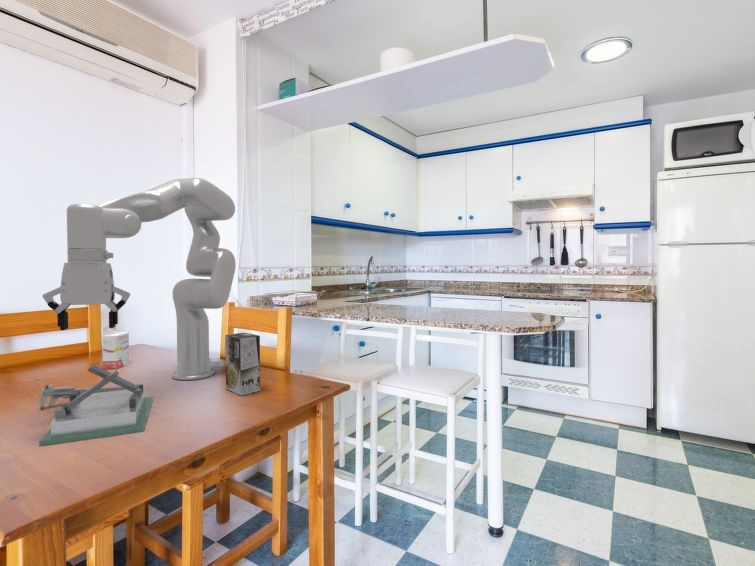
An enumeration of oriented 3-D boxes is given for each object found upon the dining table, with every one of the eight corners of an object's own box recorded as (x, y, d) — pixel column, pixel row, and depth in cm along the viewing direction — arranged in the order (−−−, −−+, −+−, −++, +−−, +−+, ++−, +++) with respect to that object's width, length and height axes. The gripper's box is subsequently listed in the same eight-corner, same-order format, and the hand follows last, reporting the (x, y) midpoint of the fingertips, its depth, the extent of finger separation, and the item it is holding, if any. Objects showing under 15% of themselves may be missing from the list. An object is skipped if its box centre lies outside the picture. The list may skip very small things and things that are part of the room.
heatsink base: (152, 400, 108) (152, 378, 108) (143, 431, 88) (142, 403, 88) (70, 410, 101) (69, 386, 100) (39, 446, 81) (38, 416, 80)
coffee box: (261, 391, 116) (260, 335, 116) (240, 396, 112) (240, 338, 111) (245, 384, 123) (244, 331, 122) (224, 389, 118) (224, 334, 117)
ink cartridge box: (117, 369, 140) (116, 327, 139) (102, 369, 140) (101, 327, 139) (130, 363, 149) (129, 323, 148) (115, 363, 148) (114, 323, 147)
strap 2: (139, 392, 102) (143, 387, 103) (138, 395, 100) (141, 391, 100) (90, 368, 98) (93, 363, 98) (87, 370, 95) (90, 366, 95)
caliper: (41, 411, 101) (40, 386, 100) (39, 410, 101) (38, 385, 101) (130, 390, 117) (129, 369, 117) (128, 390, 118) (127, 368, 117)
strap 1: (60, 416, 86) (56, 412, 86) (65, 411, 89) (61, 407, 88) (117, 377, 90) (113, 373, 90) (119, 373, 93) (115, 369, 92)
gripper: (132, 258, 103) (133, 324, 104) (48, 256, 97) (50, 328, 97) (126, 257, 96) (127, 328, 97) (35, 256, 90) (37, 332, 90)
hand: (88, 328), depth 97 cm, fingers open, 9 cm apart
